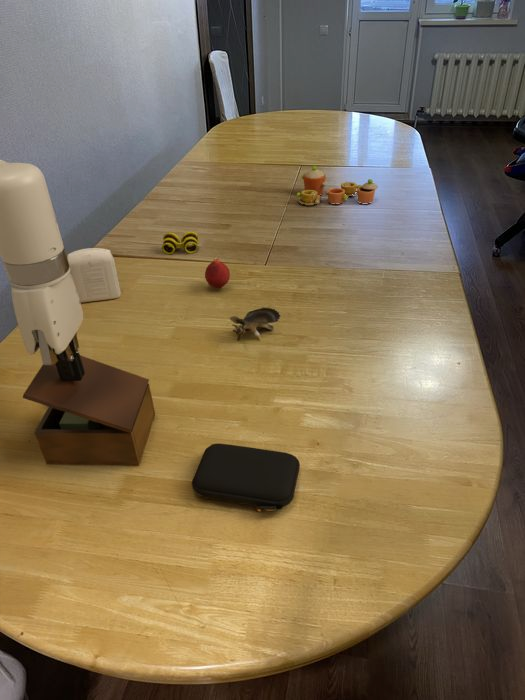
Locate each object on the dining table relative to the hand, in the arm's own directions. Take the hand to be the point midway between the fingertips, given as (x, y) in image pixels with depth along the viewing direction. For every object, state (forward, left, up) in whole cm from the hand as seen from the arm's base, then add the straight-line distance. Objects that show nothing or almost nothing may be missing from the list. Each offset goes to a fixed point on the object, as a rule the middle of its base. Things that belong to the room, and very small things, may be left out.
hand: (73, 377), depth 77 cm
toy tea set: (+47, +111, -13) cm, 121 cm away
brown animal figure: (+25, +30, -13) cm, 41 cm away
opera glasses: (+2, +72, -13) cm, 73 cm away
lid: (+2, 0, -3) cm, 3 cm away
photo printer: (-13, +46, -13) cm, 50 cm away
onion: (+15, +50, -13) cm, 54 cm away
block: (-1, 0, -12) cm, 12 cm away
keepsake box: (+2, 0, -13) cm, 13 cm away
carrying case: (+26, -9, -13) cm, 30 cm away
